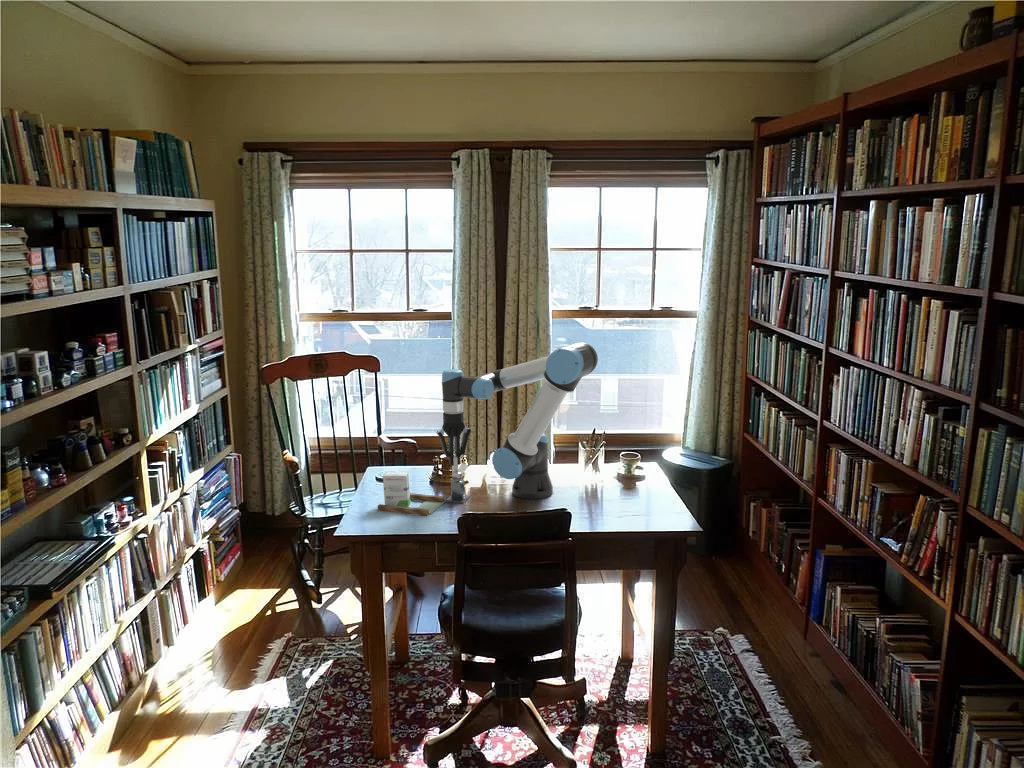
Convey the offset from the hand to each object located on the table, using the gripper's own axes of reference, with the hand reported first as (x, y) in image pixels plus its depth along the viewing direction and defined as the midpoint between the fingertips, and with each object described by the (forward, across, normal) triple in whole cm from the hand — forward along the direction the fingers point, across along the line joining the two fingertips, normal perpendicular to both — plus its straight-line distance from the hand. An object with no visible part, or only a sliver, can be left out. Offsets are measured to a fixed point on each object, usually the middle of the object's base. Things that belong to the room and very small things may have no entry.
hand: (455, 473), depth 286 cm
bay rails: (+8, +18, +6) cm, 21 cm away
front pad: (+8, +14, +10) cm, 19 cm away
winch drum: (+8, +1, +7) cm, 10 cm away
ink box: (+8, +23, +3) cm, 24 cm away
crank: (0, -2, +1) cm, 2 cm away
